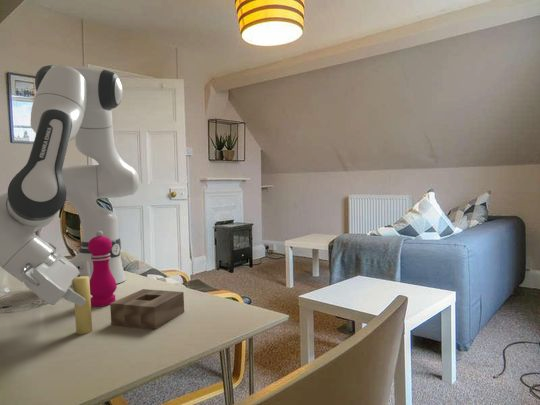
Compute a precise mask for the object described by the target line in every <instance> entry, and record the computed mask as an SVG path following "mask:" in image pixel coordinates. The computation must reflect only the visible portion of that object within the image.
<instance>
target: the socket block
mask: <svg viewBox="0 0 540 405" xmlns="http://www.w3.org/2000/svg"><path fill="white" fill-rule="evenodd" d="M184 296H185V295H184V291H173V290H161V289H160V290H159V289H145V288H143V289H140V290H138V291H136V292H133V293H131V294H129V295H126V296H124V297H122V298H119V299H116V300H115V301H114V302H112V303H110V305H109V308H110V321H111V322H110V325H112V326H123V327H129V328H140V329H148V330H158V329H159V328H160V327H162V326H164V325H165V324H167V323H168V322H170V321H172V320H174V319H175V318H176V317H178V316H180V315H181V314H183V313H185V300H184V299H185V297H184Z"/></svg>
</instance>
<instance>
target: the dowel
mask: <svg viewBox="0 0 540 405" xmlns="http://www.w3.org/2000/svg"><path fill="white" fill-rule="evenodd" d="M73 286H74V292H76V293H78V294H79V295H83V296H84V297H85V298H86V299H87V300H86V302H85V304H84V305H83V306H81V307H79V306H78V305H76V304H75V303H74V316H75V320H74V321H75V334H76V335H86V334H89V333H91V332H92V331H93V322H92V320H93V318H92V305H91V294H90V281H89V276H81V277H76V278H73Z"/></svg>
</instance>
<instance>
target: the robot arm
mask: <svg viewBox="0 0 540 405" xmlns="http://www.w3.org/2000/svg"><path fill="white" fill-rule="evenodd" d="M34 86H35V87H34V88H35V91H36V93H35V95H34V98H33V102H32V106H31V110H30V111H31V112H30V128H31V129H32V130H33V132H34V133H35V136H34V140H33V144H32V147H31V151H30V153H29V157H28V160H27V162H26V164H25V166H23V167H22V169H21V170H19V171H18V173H17V174H15V176H14V177H12V179H11V181H9V182H10V183H9V184H8V186H7V192H5V193H2V194H0V268H1V269H3V270H4V271H6V272H7V273H9V274H10V275H11V276H12V277H14V278H15V279H17V280H18V281H20V282H21V283H23V284H24V285H25V286H26V288H28V289H29V290H30V291H31V292H32V293H33V294H35V295H36V297H39V299H41V300H42V301H43V302H44V303H45V304H46V303H47V304H48V305H51V306H54V305H56V304H57V303H58V302H59V301H60V299H62V298H63V299H64V300H66V301H68V302H70V303H73V304H74V305H75V304H76V305H78V306H79V307H81V306H83V305H84V304H85V302H86V300H87V299H86V298H85V297H84V296H83V295H79V294H78V293H76V292H74V286H73V278H76V277H81V276H89V281H90V279H91V276H92V274H93V261H92V260H91V255H92V253H91V252H90V251H89V250H88V243H89V241H90V240H91V239H92V238H94V237H97V236H96V232H97V231H102V232H103V235H102V236H105V237H107V238H109V239H110V240H111V242H112V248H111V250H110V251H109V253H110V254H111V255H110V257H111V258H110V259H109V268H110V271H111V273H112V275H113V277H114V279H115V281H116V285H117V284H120V283H123V282H125V281H126V280H127V277H126V274H125V271H124V268H123V262H122V257H121V256H122V255H121V251H122V250H121V249H122V245H121V244H122V242H121V238H120V235H119V234H120V233H119V232H120V231H119V219H118V216H117V214H116V213H115V212H114V211H112V210H111V209H110V210H109V209H107V208H105V207H102V206H100V204H98V202H97V200H98V199H111V198H113V199H114V198H123V197H128V196H130V195H134V194H135V193H136V192H137V190H138V189H139V186H140V176H139V173H138V172H137V171H136V169H135V168H134V167H133V166H131V165H129V164H128V163H127V162H126V161H125V160H123V158H121V156H120V154H119V153H118V150H117V147H116V144H115V142H116V141H115V136H114V122H113V113H112V110H113V109H115V108H117V107H118V106H119V105H120V104H121V102H122V97H123V93H124V90H123V84H122V81H121V78H120V77H119V76H118V74H117V73H115V72H113V71H110V70H106V69H103V70H101V69H97V68H93V67H87V66H71V65H61V64H60V65H56V64H50V65H45V66H42V67H40V69H39V70H37V71H36V74H35V77H34ZM72 140H75V141H74V142H75V146H76V149H77V150H78V151H79V152H80V153H81V154H82V155H84V156H85V157H87V158H91V159H93V160H94V161H96V162H97V163H98V164H85V165H84V164H83V165H81V164H79V165H78V164H76V165H70V166H64V162H65V159H66V158H65V157H66V154H67V148H68V144H69V142H71V141H72ZM63 166H64V167H63ZM66 201H67V202H68V203H69V204H70V205H72V207H73V208H74V209H75V211H76V212H77V214H78V216H79V220H80V225H81V232H82V233H81V234H82V236H81V237H82V241H81V242H79V243H76V244H75V245H76V248H79V250H78V253H77V254H76V255H74V257H72V258H71V259H70V260H69V259H68V258H66V257H65V256H64V255H63V254H62V253H60V252H58V251H57V250H58V247H56V246H55V245H54V244H53V243H50V242H49V243H48V242H46V241H45V240H43V239H42V238H41V237H39V236H38V235H37V234H36V232H38V231H40V230H41V229H43V228H45V227H47V226H48V225H50V224H51V223H52V222H53V220H54V219H55V217H56V216H57V214H58V212H59V211H60V210H61V209H62V208H63V206H64V205H65V202H66Z"/></svg>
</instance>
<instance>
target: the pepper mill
mask: <svg viewBox="0 0 540 405" xmlns="http://www.w3.org/2000/svg"><path fill="white" fill-rule="evenodd" d="M102 235H103V232H102V231H97V232H96V236H97V237H94V238H92V239H91V240H90V241H89V243H88V250H89V251H90V252H91V253H92V255H91V260H92V261H93V274H92V276H91V279H90V299H91V307H97V308H98V307H106V306H110V303H112V302H114V301H116V294H114V293H115V291H116V290H117V284H116V281H115V279H114V277H113V275H112V273H111V271H110V268H109V259H110V258H111V257H110V255H111V254H110V253H109V251H110V250H111V248H112V242H111V240H110V239H109V238H107V237H105V236H102Z"/></svg>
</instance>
